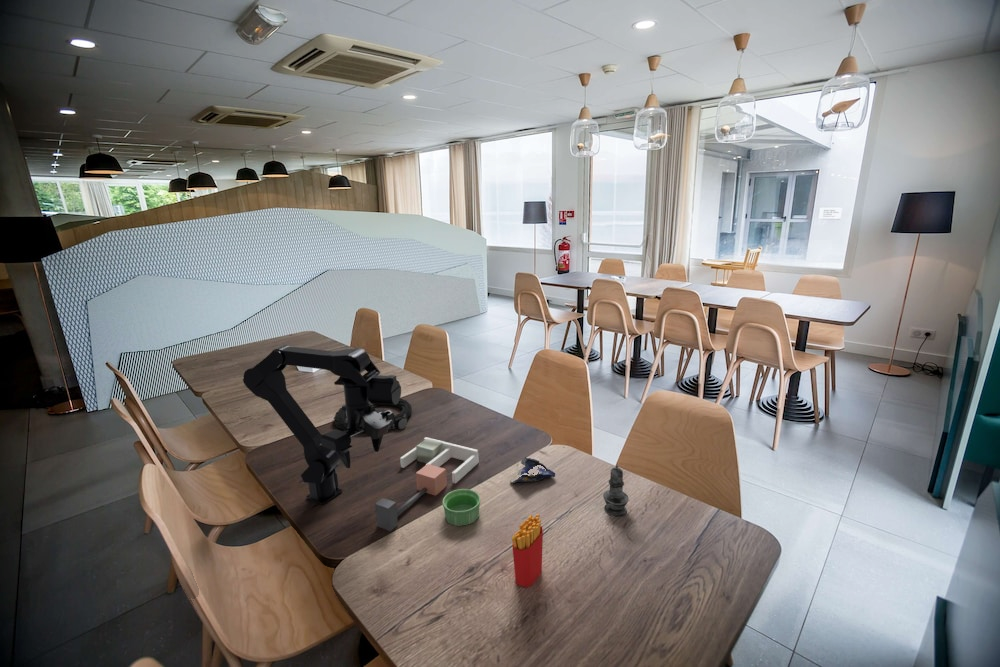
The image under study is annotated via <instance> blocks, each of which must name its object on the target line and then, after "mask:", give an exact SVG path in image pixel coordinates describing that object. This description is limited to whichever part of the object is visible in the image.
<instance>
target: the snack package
mask: <svg viewBox="0 0 1000 667" xmlns="http://www.w3.org/2000/svg"><path fill="white" fill-rule="evenodd" d="M520 464H522V466H523V468H521V469H520V470H519V471H518V472H517V475H522V474H524V473H527V474H529V473H528V471H529V470H530V469H533V467H535V466H537V465H541V466H543V467H544V468H545V469H546V471H545V469H542V468H539V467H538V469H537V470H539V472H540V474H539V472H538V474H537V475H535V476H533V475H531V476H528V475H522V476H521V477H519V478H518V479H515V480H514V481H513V482H511V480H509V482H510V483H511V484H512V483H514V484H515V483H524V482H538V481H541V480H543V479H546V478H548V477H549V478H551V477H552V478H555V476H556V473H555V471H553V470H551V469H549V468H547V466H545V465H544V464H543V463H541V462H540V461H539V460H537V459H534V458H531V457H529V458H528V457H526V456H525V457H523V458H522V459H521V460H520ZM533 474H534V473H533ZM517 475H516V476H517Z"/></svg>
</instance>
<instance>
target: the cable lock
mask: <svg viewBox="0 0 1000 667" xmlns="http://www.w3.org/2000/svg"><path fill="white" fill-rule="evenodd" d="M370 403H372V402H370ZM372 404H374V406H375V407H376V406H391V405H393V407H396V408H400V409H401V411H400V412H399V413H398V414H396V415H395V422H394V423H393V425H392V426H391V427H389V429H388V431H389V430H391V431H392V430H394V429H397V430H399V429H400V430H402V429H405V428H406V427H407V425H408V419H409V418H410V417H411V415H412V413H413V412H412V411H413V410H412V405H411V403H410V402H409V401H407V400H406V399H403V398H401V397H400V400H399V402H398V404H396V405H394V404H378V403H372ZM346 418H347V416H346V411H344V410H342V407H340V408H339V409H338V411H336V412H335V414H334V417H333V423H334V424H335V426H336V427H337V428H339V430H340V431H345V430H347V429H348V427H347V426H344V421H346V420H347V419H346ZM359 434H366V433H365V432H364V431H362V432H360V433H359Z"/></svg>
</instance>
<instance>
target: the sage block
mask: <svg viewBox="0 0 1000 667" xmlns="http://www.w3.org/2000/svg"><path fill="white" fill-rule="evenodd" d="M415 447H416V449H417V459H416V460H417V462H420V463H424V464H427V463H428V462H430V461H431V460H432V459H434V458H435V457H436V456H438V455H439V454H440V453H441V452H443V442H439V441H434V440H430V439H425V440H424V439H423V441H421V442H420V443H418V444H417V445H416V446H415Z"/></svg>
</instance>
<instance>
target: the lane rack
mask: <svg viewBox="0 0 1000 667" xmlns="http://www.w3.org/2000/svg"><path fill="white" fill-rule="evenodd" d="M425 439H430V440H434V441H439V442H443V452H441V453H440V454H439V455H438V456H436V457H435V458H434V459H432V460H431V461H430V462H428V463H425V465H424V466H426V465H427V464H430V465H433V466H437V467H440V468H441V466H442V465H443V464H445V463H446V462H448V460H450V459H451V458H452V459H456V460H460V461H463V463H461V464H460V465H458V467H457V468H456V469H454V470H453V471H452V472H451V477H452V484H457V483H458V482H459V481H461V479H463V478H464V476H466V475H467V474H468V473H469V472H470V471H471V470H472V469H474V467H476V466H477V465H478V464H479V463H480V461H479V449H476V448H471V447H467V446H463V445H459V444H455V443H451V442H449V441H448V442H447V441H444V440H439V439H436V438H435V439H434V438H432V437H426V436H425V437H423V441H424V440H425ZM399 460H400V468H403V469H404V468H406V467H407V466H408V465H410V464H412V463H413V462H414V461H415V460H417V449H416V446H415V447H414V448H412V449H411V450H409V451H408V452H407V453H405V454H403V455H402V456H401V457H400V458H399Z"/></svg>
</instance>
